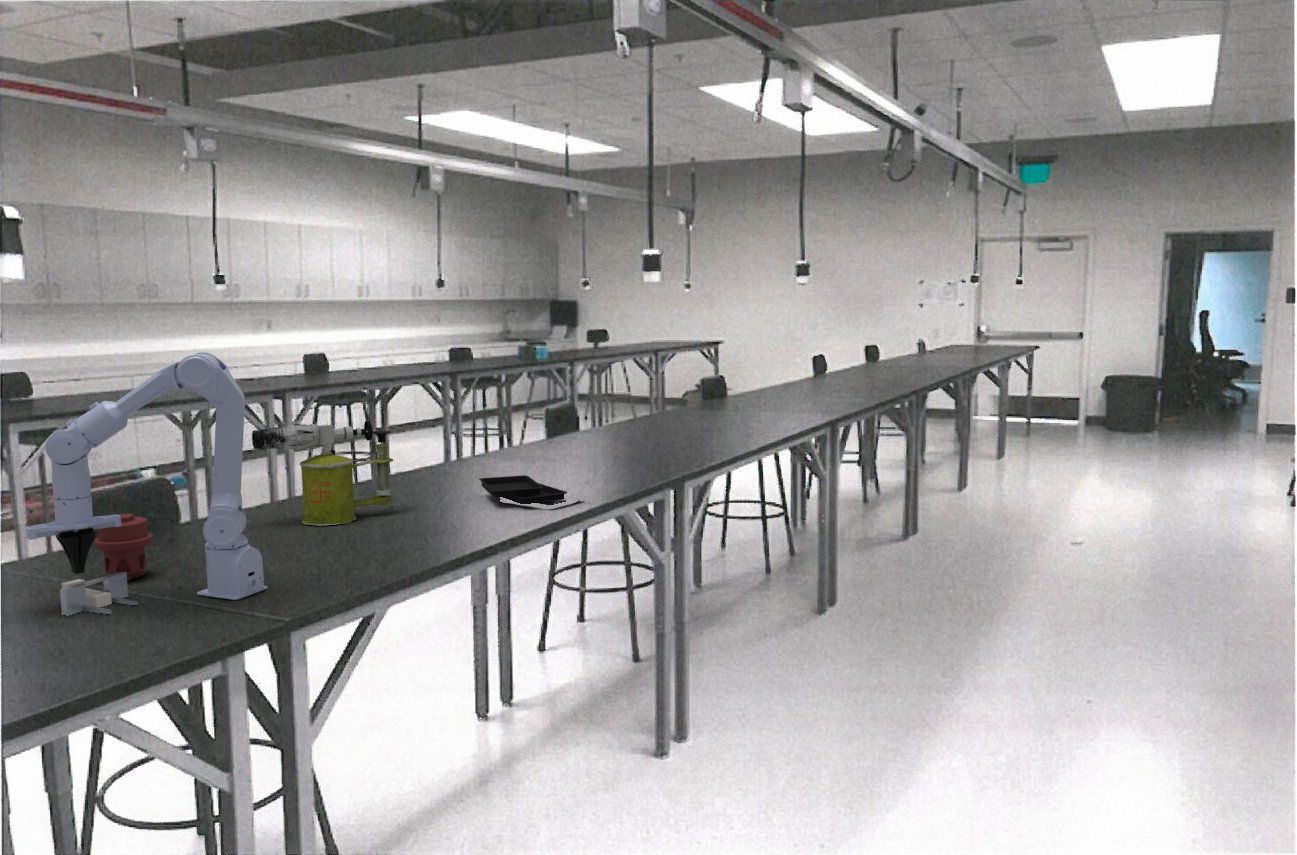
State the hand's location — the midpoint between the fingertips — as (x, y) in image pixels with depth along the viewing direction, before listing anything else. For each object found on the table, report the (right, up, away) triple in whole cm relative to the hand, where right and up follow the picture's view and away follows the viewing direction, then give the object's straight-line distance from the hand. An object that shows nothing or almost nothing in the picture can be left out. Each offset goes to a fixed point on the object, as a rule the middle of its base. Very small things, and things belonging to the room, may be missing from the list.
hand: (78, 572), depth 174 cm
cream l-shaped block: (+1, -6, +1) cm, 6 cm away
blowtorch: (+23, +3, +67) cm, 70 cm away
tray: (+67, +5, +88) cm, 111 cm away
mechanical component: (0, -4, +17) cm, 17 cm away
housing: (+6, -6, -2) cm, 9 cm away
